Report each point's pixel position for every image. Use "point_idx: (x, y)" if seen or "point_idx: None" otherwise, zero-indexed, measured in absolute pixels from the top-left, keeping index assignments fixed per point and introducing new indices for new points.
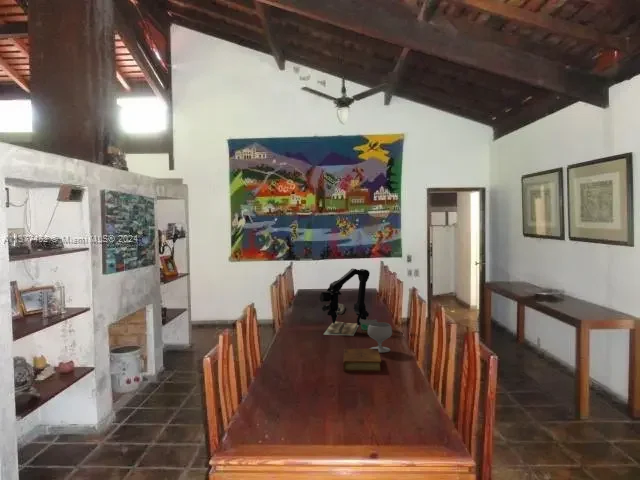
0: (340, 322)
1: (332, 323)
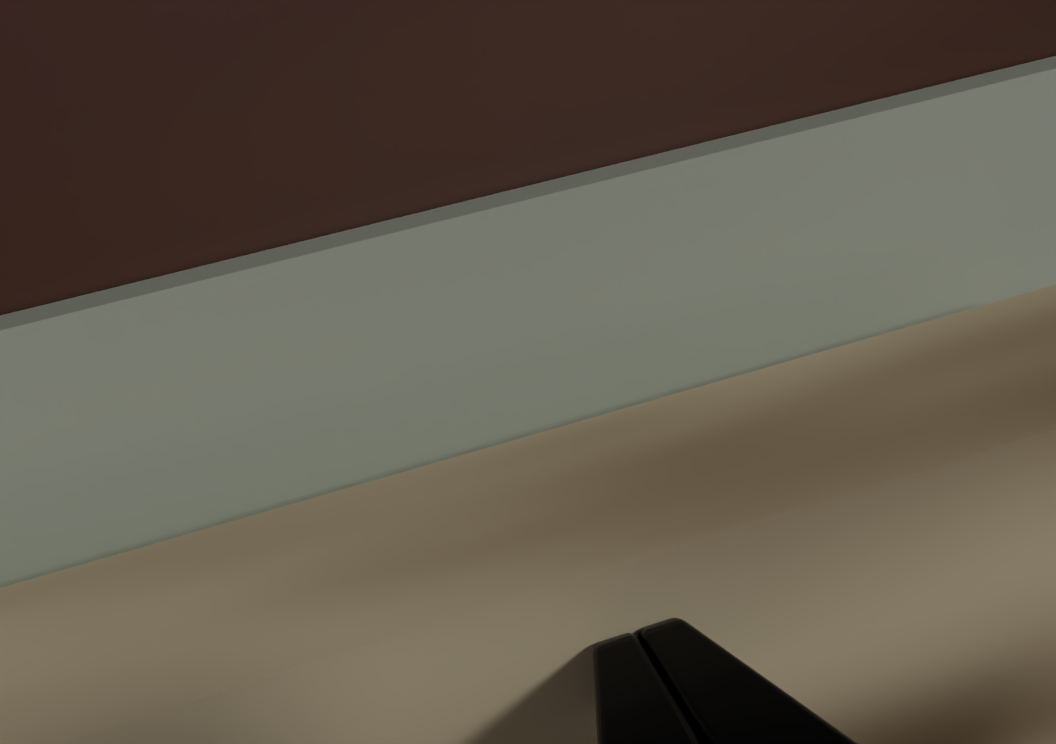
0: (1042, 732)
1: (549, 633)
